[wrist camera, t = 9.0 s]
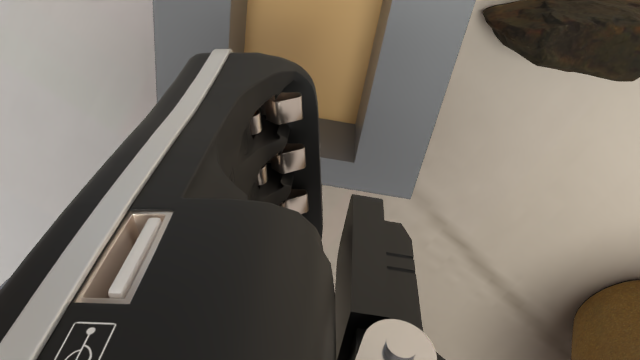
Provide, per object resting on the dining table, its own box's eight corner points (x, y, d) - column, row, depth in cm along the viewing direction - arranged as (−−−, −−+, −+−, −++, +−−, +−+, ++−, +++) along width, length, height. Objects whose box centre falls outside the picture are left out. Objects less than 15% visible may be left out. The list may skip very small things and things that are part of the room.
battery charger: (346, 253, 16) (326, 871, 6) (228, 250, 16) (41, 838, 7) (346, 35, 12) (288, 834, 2) (188, 37, 12) (-424, 754, 3)
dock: (476, -96, 20) (502, -80, 17) (403, 150, 27) (410, 199, 23) (186, -149, 20) (146, -146, 16) (187, 113, 27) (159, 157, 23)
